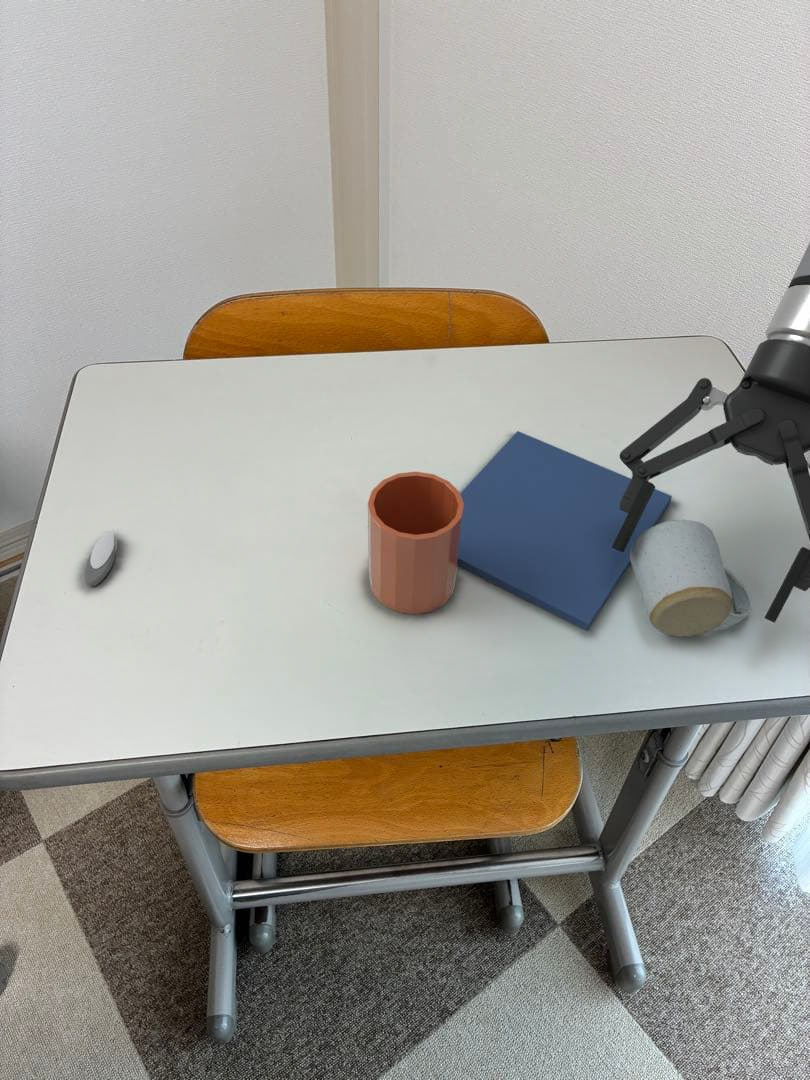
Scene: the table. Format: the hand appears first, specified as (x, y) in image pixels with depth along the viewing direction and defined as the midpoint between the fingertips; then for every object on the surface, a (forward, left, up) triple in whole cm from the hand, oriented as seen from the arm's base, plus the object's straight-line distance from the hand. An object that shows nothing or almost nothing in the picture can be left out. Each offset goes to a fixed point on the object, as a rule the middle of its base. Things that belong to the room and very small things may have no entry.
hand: (690, 584), depth 69 cm
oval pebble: (+47, +25, -5) cm, 53 cm away
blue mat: (+15, -4, -5) cm, 16 cm away
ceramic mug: (0, -2, -5) cm, 5 cm away
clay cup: (+22, +10, -5) cm, 25 cm away
